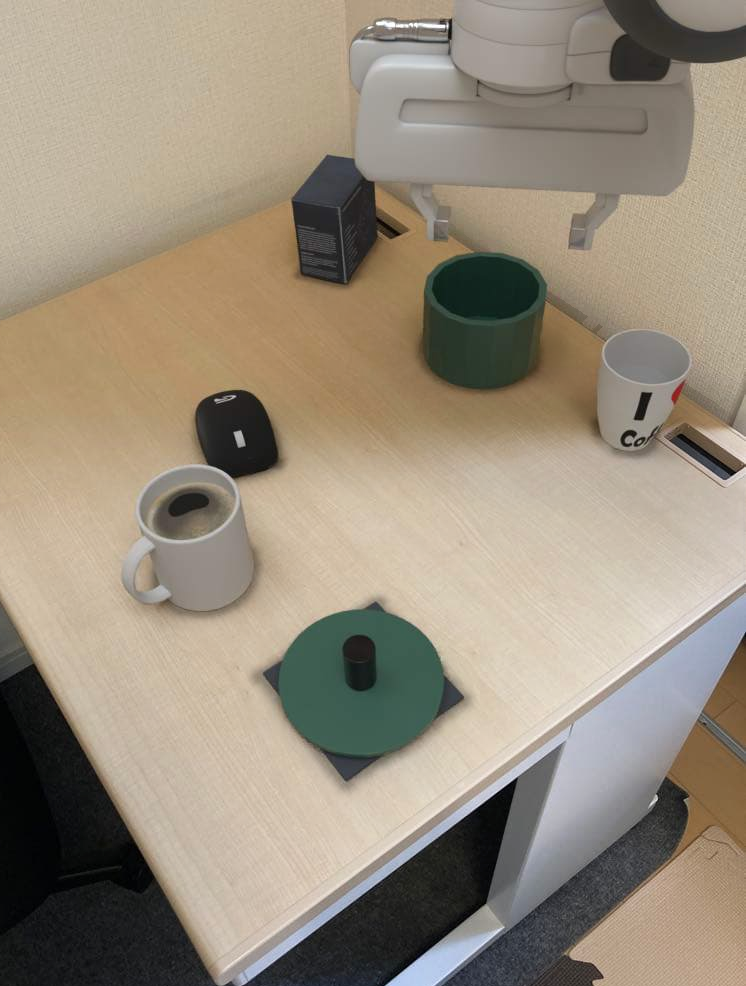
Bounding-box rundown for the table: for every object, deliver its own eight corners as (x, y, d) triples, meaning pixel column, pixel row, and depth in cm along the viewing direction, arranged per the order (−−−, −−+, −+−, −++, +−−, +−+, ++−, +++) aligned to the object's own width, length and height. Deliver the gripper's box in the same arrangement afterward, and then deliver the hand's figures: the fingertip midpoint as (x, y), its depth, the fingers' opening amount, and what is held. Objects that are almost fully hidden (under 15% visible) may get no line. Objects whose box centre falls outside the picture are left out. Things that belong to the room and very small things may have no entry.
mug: (251, 530, 87) (237, 457, 79) (258, 611, 81) (243, 541, 73) (138, 544, 87) (112, 472, 79) (136, 627, 81) (108, 558, 73)
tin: (539, 319, 105) (549, 255, 98) (534, 393, 97) (544, 329, 90) (430, 311, 106) (432, 248, 100) (416, 383, 99) (417, 320, 92)
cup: (615, 472, 89) (636, 396, 82) (569, 420, 94) (585, 344, 86) (683, 445, 91) (710, 368, 83) (635, 396, 96) (656, 319, 88)
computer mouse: (255, 392, 99) (250, 364, 96) (285, 467, 92) (281, 439, 89) (188, 410, 98) (181, 381, 95) (213, 487, 91) (206, 459, 88)
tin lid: (451, 626, 79) (454, 588, 74) (433, 773, 70) (435, 739, 66) (298, 607, 81) (292, 569, 76) (263, 747, 72) (254, 713, 68)
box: (331, 229, 118) (326, 152, 110) (378, 238, 116) (377, 161, 108) (297, 275, 112) (289, 197, 104) (346, 286, 110) (342, 207, 102)
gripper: (337, 41, 50) (348, 258, 61) (725, 52, 47) (664, 279, 58) (356, -6, 54) (363, 206, 65) (716, 2, 51) (660, 223, 62)
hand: (507, 241), depth 61 cm, fingers open, 8 cm apart
